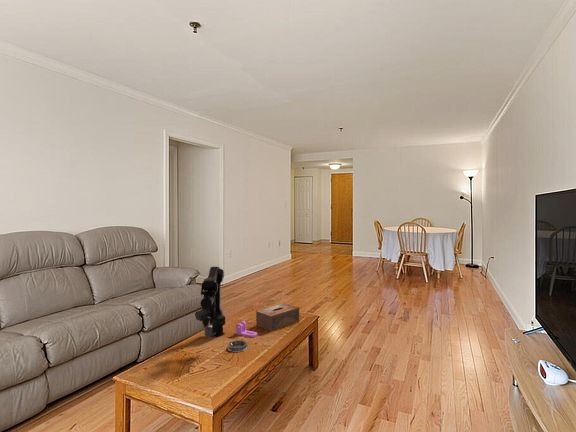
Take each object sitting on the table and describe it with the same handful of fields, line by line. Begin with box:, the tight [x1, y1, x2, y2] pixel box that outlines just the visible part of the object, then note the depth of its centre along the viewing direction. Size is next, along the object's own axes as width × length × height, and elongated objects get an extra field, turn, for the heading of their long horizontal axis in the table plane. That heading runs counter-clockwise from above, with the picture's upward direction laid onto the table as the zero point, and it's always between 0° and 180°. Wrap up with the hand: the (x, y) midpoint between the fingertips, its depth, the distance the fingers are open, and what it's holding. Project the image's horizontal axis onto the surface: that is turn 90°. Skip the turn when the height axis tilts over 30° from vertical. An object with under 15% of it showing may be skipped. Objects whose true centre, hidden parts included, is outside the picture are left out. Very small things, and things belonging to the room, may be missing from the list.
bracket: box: [235, 320, 258, 338], centre depth 204 cm, size 13×6×7 cm, turn 64°
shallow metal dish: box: [227, 339, 249, 353], centre depth 185 cm, size 11×11×2 cm
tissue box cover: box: [255, 302, 300, 332], centre depth 223 cm, size 26×14×10 cm, turn 134°
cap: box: [203, 324, 216, 337], centre depth 180 cm, size 6×6×4 cm
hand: (210, 331), depth 180 cm, fingers closed on cap, 6 cm apart
